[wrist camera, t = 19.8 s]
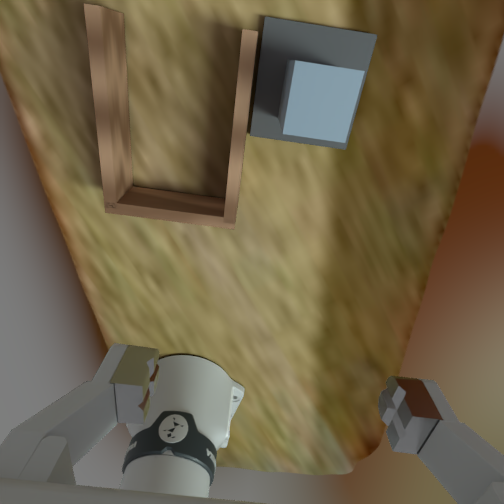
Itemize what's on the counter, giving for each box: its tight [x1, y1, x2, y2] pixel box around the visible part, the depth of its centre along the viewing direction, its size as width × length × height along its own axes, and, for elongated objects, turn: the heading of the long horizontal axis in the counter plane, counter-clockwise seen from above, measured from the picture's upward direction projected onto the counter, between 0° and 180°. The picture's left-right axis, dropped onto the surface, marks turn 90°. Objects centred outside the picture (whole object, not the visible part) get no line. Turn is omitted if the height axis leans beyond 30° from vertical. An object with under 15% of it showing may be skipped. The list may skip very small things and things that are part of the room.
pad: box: [250, 17, 377, 150], centre depth 31 cm, size 10×10×1 cm
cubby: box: [84, 3, 258, 229], centre depth 31 cm, size 17×13×5 cm
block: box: [278, 60, 365, 143], centre depth 28 cm, size 5×5×8 cm
